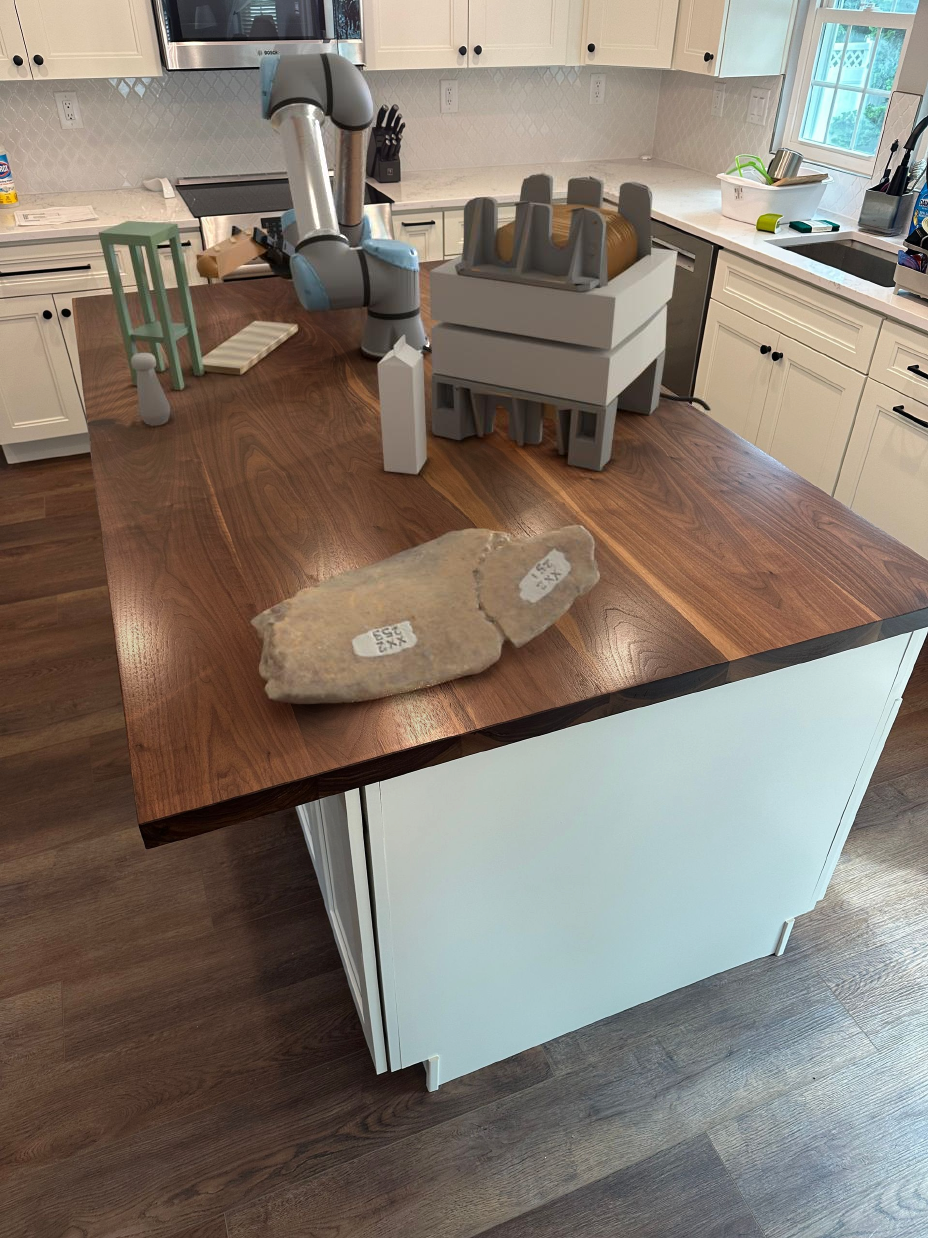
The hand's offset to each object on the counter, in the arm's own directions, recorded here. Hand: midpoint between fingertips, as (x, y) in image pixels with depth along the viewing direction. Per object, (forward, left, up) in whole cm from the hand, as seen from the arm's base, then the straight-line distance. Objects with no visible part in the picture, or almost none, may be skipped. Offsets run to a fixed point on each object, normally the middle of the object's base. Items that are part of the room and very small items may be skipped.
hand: (244, 232), depth 195 cm
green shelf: (-6, +27, -24) cm, 36 cm away
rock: (-109, +49, -24) cm, 121 cm away
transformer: (-77, -13, -24) cm, 82 cm away
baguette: (-3, +5, -5) cm, 7 cm away
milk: (-72, +19, -24) cm, 78 cm away
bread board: (-3, +5, -24) cm, 24 cm away
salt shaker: (-24, +40, -24) cm, 52 cm away
